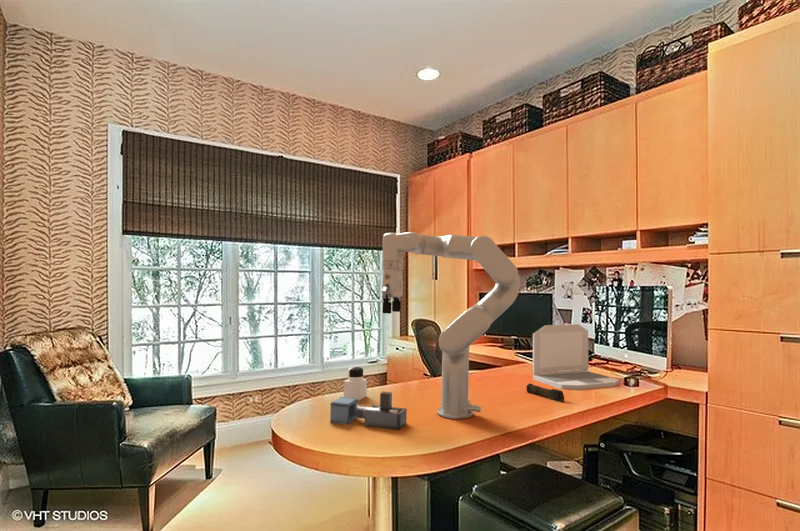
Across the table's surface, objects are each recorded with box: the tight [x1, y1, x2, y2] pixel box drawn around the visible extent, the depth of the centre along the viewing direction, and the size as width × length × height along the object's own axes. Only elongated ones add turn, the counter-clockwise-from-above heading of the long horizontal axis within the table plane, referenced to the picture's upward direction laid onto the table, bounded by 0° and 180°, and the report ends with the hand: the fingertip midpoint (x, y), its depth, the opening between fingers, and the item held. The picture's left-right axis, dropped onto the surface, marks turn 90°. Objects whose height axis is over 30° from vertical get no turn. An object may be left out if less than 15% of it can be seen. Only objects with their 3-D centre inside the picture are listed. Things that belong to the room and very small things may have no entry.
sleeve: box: [364, 404, 407, 431], centre depth 151 cm, size 12×7×5 cm, turn 72°
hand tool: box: [526, 383, 565, 403], centre depth 189 cm, size 19×4×5 cm, turn 26°
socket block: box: [329, 396, 358, 425], centre depth 155 cm, size 6×8×6 cm
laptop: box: [532, 323, 620, 391], centre depth 218 cm, size 33×24×26 cm
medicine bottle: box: [343, 366, 368, 401], centre depth 184 cm, size 7×7×12 cm
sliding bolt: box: [355, 391, 399, 420], centre depth 152 cm, size 14×4×9 cm, turn 72°
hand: (391, 312), depth 170 cm, fingers open, 9 cm apart
